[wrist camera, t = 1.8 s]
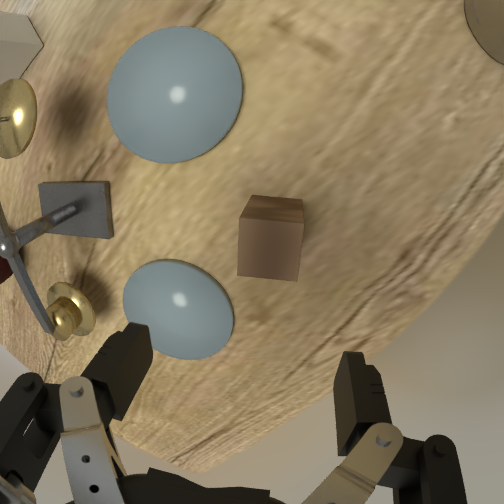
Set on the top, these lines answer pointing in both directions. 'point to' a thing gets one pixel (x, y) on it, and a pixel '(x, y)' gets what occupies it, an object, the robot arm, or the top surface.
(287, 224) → the walnut block
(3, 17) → the milk carton
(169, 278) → the dish
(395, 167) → the top surface
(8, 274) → the mate gourd
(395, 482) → the robot arm
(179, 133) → the pale blue flat disc
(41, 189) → the balance
